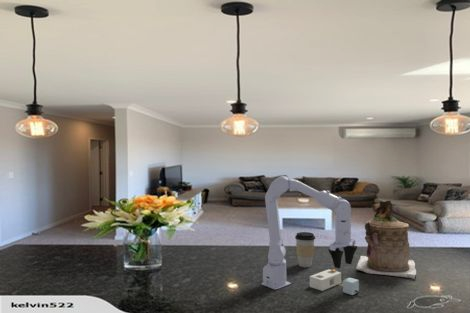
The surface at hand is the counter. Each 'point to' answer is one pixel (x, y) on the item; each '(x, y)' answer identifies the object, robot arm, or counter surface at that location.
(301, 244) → the coffee cup
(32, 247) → the counter surface
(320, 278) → the power strip
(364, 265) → the cookie jar
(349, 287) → the charger
